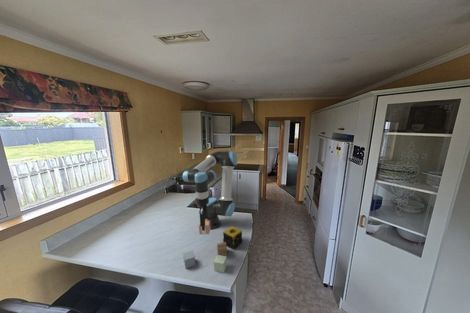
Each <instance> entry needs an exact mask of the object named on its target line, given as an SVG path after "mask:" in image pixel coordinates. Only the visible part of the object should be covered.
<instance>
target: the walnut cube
mask: <svg viewBox="0 0 470 313" xmlns="http://www.w3.org/2000/svg"><path fill="white" fill-rule="evenodd" d="M216 247H217V248H216V249H217V251H216V252H217V255H222V256H227V257H228V248H227V246H226V242H224V243H223V242H219V243H216Z"/></svg>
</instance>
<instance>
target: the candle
mask: <svg viewBox="0 0 470 313" xmlns="http://www.w3.org/2000/svg"><path fill="white" fill-rule="evenodd" d="M222 235H223V239H222V241H223V242H222V243H224V242H226V246H227V247H228V248H229V249H231V250H235V249H236V248H238V247H240V245H241V244H242V243H243V230H242V229H240V228H237V227H235V226H232V225H231V226H230V227H229V228H227V229H225V230H223V232H222Z"/></svg>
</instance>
